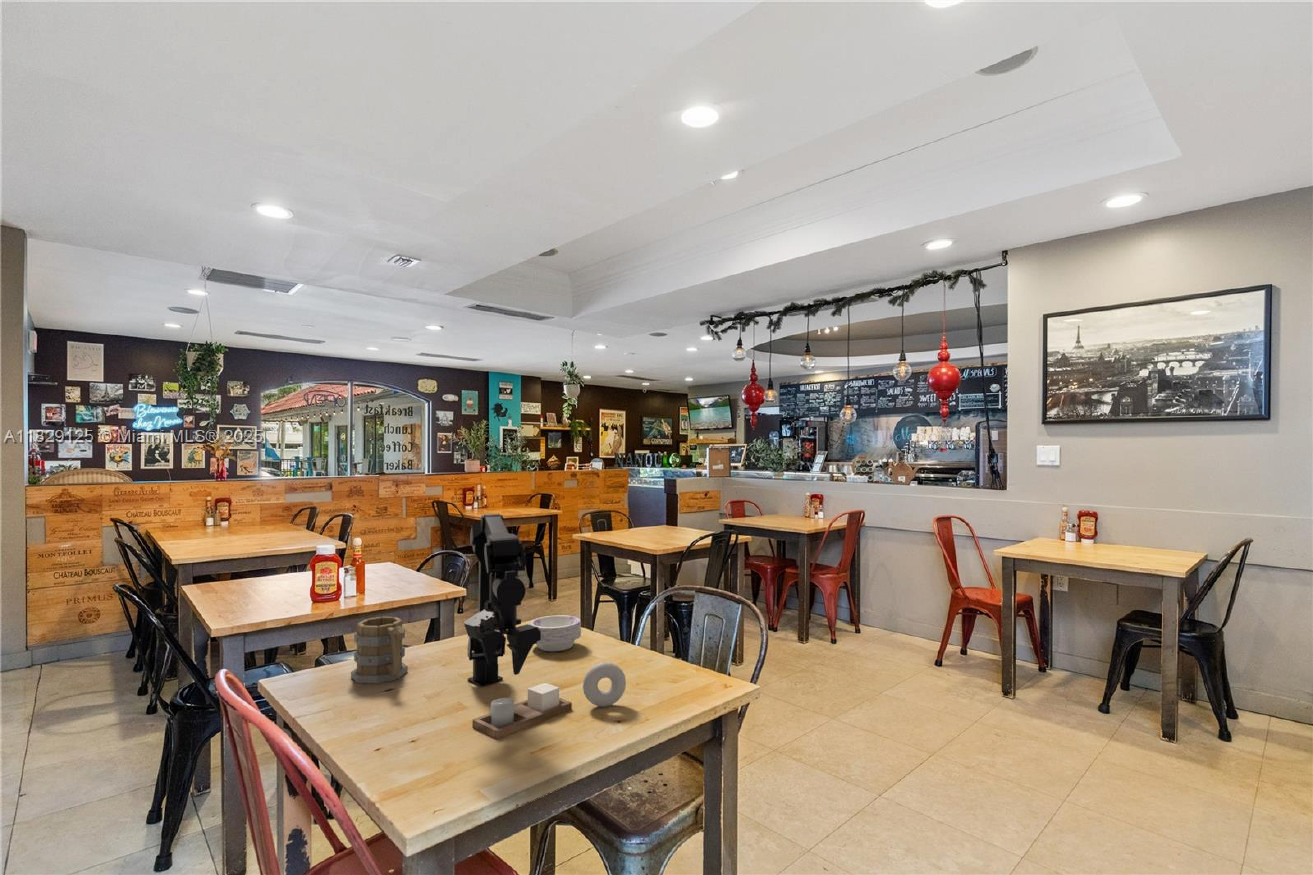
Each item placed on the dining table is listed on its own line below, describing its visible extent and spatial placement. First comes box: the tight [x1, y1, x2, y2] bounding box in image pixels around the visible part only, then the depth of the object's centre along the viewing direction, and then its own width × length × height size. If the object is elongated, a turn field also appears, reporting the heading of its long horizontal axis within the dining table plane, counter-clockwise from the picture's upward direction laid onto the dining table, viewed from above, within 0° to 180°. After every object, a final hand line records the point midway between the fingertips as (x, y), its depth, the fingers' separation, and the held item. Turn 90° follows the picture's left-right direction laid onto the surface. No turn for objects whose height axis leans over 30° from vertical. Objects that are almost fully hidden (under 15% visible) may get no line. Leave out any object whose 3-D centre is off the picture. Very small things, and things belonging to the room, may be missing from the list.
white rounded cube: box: [527, 682, 560, 712], centre depth 146 cm, size 5×5×5 cm
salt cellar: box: [490, 697, 515, 728], centre depth 138 cm, size 5×5×5 cm
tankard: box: [350, 616, 409, 685], centre depth 167 cm, size 20×13×15 cm, turn 42°
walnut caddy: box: [472, 697, 573, 740], centre depth 142 cm, size 9×20×2 cm, turn 139°
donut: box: [582, 661, 627, 708], centre depth 149 cm, size 10×4×10 cm, turn 105°
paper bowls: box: [528, 614, 582, 653], centre depth 193 cm, size 15×15×8 cm
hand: (503, 669), depth 138 cm, fingers open, 9 cm apart
